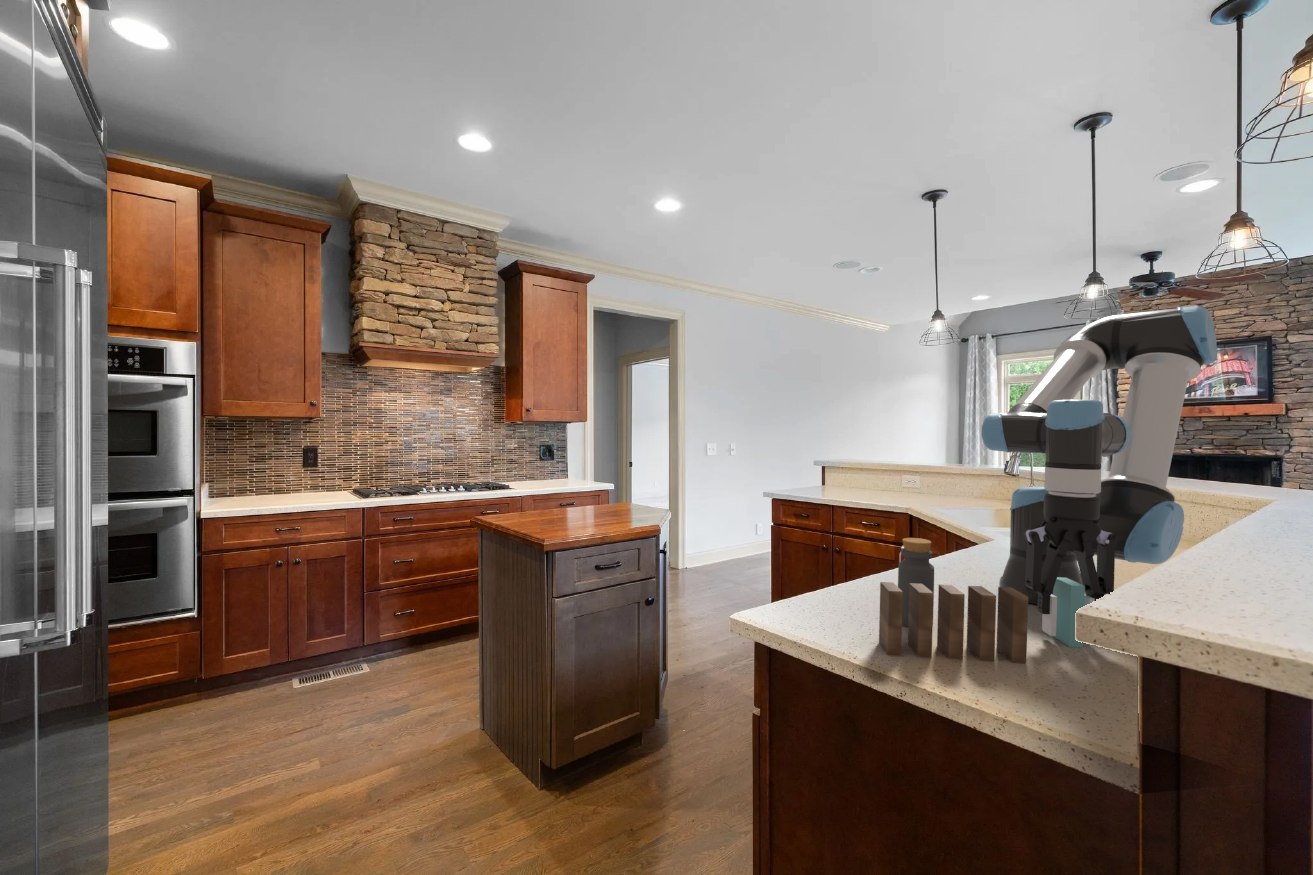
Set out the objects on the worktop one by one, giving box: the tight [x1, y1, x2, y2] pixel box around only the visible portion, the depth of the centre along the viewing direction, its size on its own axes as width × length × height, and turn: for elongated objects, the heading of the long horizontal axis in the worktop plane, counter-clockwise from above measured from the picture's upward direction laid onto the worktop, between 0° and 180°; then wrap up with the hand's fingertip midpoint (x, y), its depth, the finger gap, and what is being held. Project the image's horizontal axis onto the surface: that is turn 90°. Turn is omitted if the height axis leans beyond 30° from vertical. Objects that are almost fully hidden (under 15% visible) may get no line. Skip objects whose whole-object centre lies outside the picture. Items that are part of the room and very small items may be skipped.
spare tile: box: [1052, 577, 1085, 649], centre depth 95 cm, size 2×5×10 cm, turn 173°
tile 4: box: [936, 584, 966, 660], centre depth 89 cm, size 2×5×10 cm, turn 173°
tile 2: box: [996, 586, 1029, 664], centre depth 88 cm, size 2×5×10 cm, turn 173°
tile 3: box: [966, 585, 997, 662], centre depth 89 cm, size 2×5×10 cm, turn 173°
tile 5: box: [907, 583, 934, 659], centre depth 90 cm, size 2×5×10 cm, turn 173°
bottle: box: [897, 537, 935, 628], centre depth 102 cm, size 6×6×15 cm
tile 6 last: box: [878, 581, 903, 657], centre depth 90 cm, size 2×5×10 cm, turn 173°
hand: (1067, 633), depth 95 cm, fingers open, 5 cm apart
